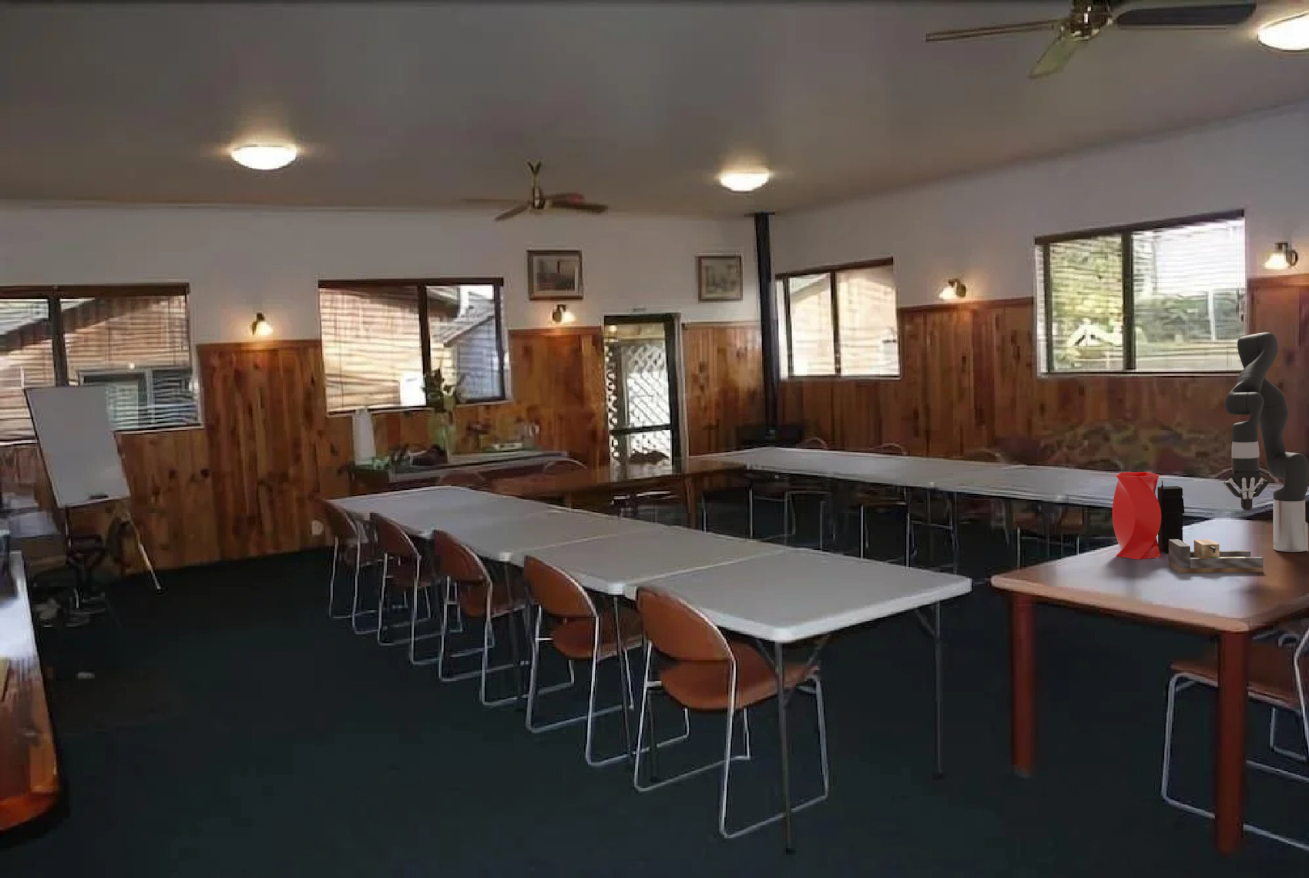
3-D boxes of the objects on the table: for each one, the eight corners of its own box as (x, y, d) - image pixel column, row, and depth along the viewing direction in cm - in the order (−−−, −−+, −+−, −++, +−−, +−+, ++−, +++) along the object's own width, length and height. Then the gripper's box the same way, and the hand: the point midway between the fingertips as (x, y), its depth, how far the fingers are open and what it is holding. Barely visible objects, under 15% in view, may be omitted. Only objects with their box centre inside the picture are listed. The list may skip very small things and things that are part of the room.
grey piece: (1249, 564, 335) (1248, 538, 335) (1263, 572, 324) (1263, 545, 323) (1168, 565, 340) (1168, 539, 339) (1180, 573, 328) (1179, 546, 328)
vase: (1164, 559, 349) (1163, 476, 347) (1118, 559, 352) (1116, 477, 350) (1152, 550, 364) (1151, 471, 362) (1108, 551, 367) (1106, 472, 364)
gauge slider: (1210, 560, 336) (1210, 539, 335) (1223, 567, 324) (1223, 546, 324) (1194, 560, 337) (1193, 539, 336) (1205, 568, 325) (1205, 546, 325)
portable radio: (1180, 549, 363) (1179, 478, 361) (1187, 553, 357) (1186, 480, 355) (1156, 550, 364) (1155, 479, 362) (1163, 553, 358) (1162, 481, 356)
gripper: (1263, 453, 329) (1264, 507, 331) (1218, 455, 332) (1219, 509, 333) (1273, 456, 322) (1274, 511, 324) (1226, 458, 325) (1228, 513, 326)
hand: (1246, 510), depth 328 cm, fingers closed
